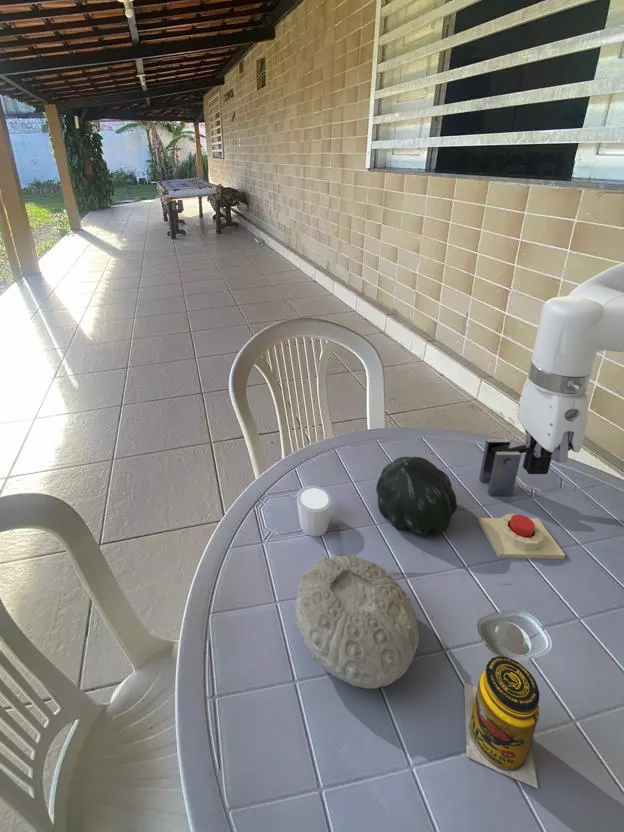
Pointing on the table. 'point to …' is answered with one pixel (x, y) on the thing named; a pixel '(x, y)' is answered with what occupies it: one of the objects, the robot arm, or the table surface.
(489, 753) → the condiment
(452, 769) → the table surface
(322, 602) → the decorative shell
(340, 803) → the table surface
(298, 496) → the white cylinder
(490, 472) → the grey upright double plates
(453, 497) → the squash
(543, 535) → the control block
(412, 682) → the table surface
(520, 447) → the press lever
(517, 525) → the button
